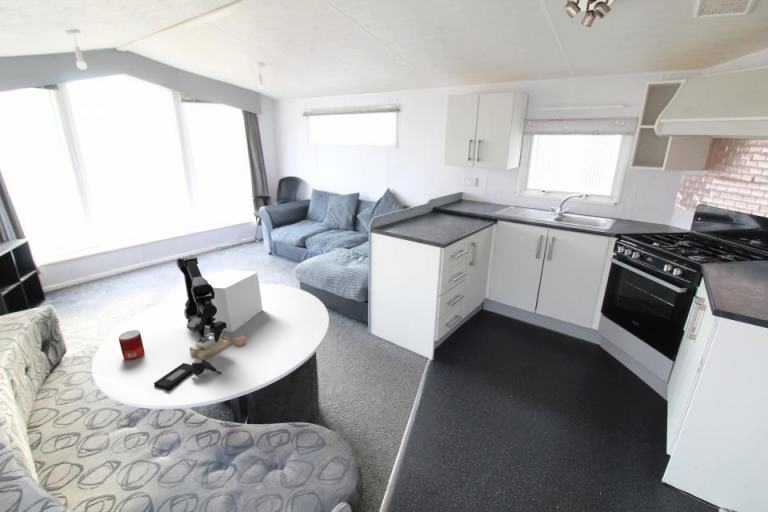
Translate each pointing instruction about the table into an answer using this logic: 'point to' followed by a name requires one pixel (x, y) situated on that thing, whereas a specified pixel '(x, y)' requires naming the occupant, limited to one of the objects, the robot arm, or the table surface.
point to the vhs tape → (174, 377)
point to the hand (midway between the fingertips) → (209, 339)
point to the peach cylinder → (239, 340)
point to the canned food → (131, 345)
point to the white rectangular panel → (235, 297)
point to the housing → (207, 342)
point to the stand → (210, 349)
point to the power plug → (201, 367)
